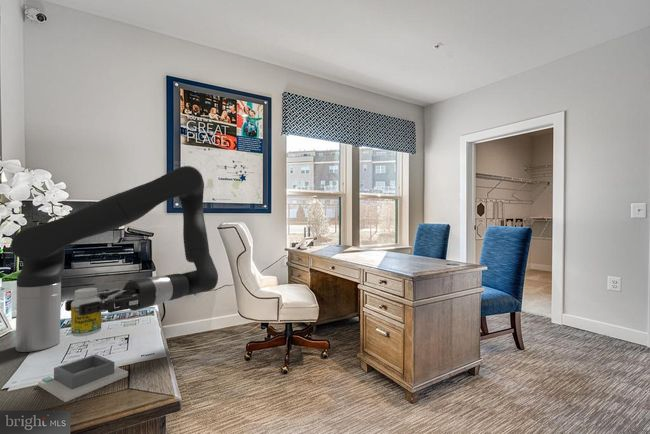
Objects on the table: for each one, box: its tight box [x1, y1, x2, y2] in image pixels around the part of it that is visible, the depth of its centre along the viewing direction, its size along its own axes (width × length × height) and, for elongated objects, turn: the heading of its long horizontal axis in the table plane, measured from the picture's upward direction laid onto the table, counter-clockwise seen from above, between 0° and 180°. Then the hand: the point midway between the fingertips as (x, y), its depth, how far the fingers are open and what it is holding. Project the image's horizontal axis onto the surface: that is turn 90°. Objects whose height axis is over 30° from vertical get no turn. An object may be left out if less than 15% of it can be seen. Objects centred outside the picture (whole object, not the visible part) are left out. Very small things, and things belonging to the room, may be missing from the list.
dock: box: [37, 353, 129, 403], centre depth 71 cm, size 12×12×4 cm
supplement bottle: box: [70, 287, 102, 338], centre depth 71 cm, size 5×5×10 cm
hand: (73, 308), depth 68 cm, fingers closed on supplement bottle, 5 cm apart
